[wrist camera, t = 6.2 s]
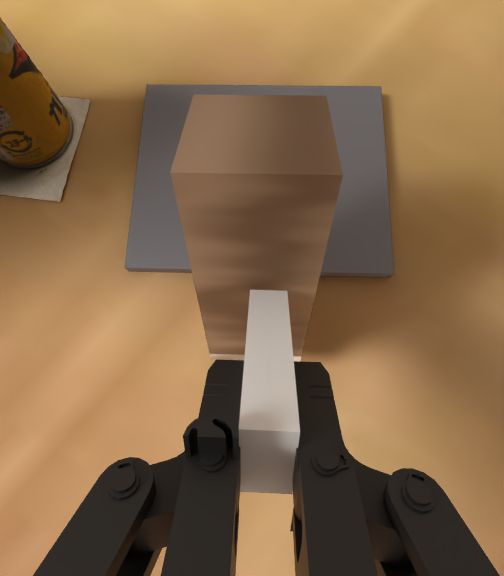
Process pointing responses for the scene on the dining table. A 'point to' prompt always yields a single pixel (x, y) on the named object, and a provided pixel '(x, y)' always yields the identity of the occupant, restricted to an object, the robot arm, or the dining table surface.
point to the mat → (351, 200)
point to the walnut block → (255, 207)
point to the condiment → (34, 127)
